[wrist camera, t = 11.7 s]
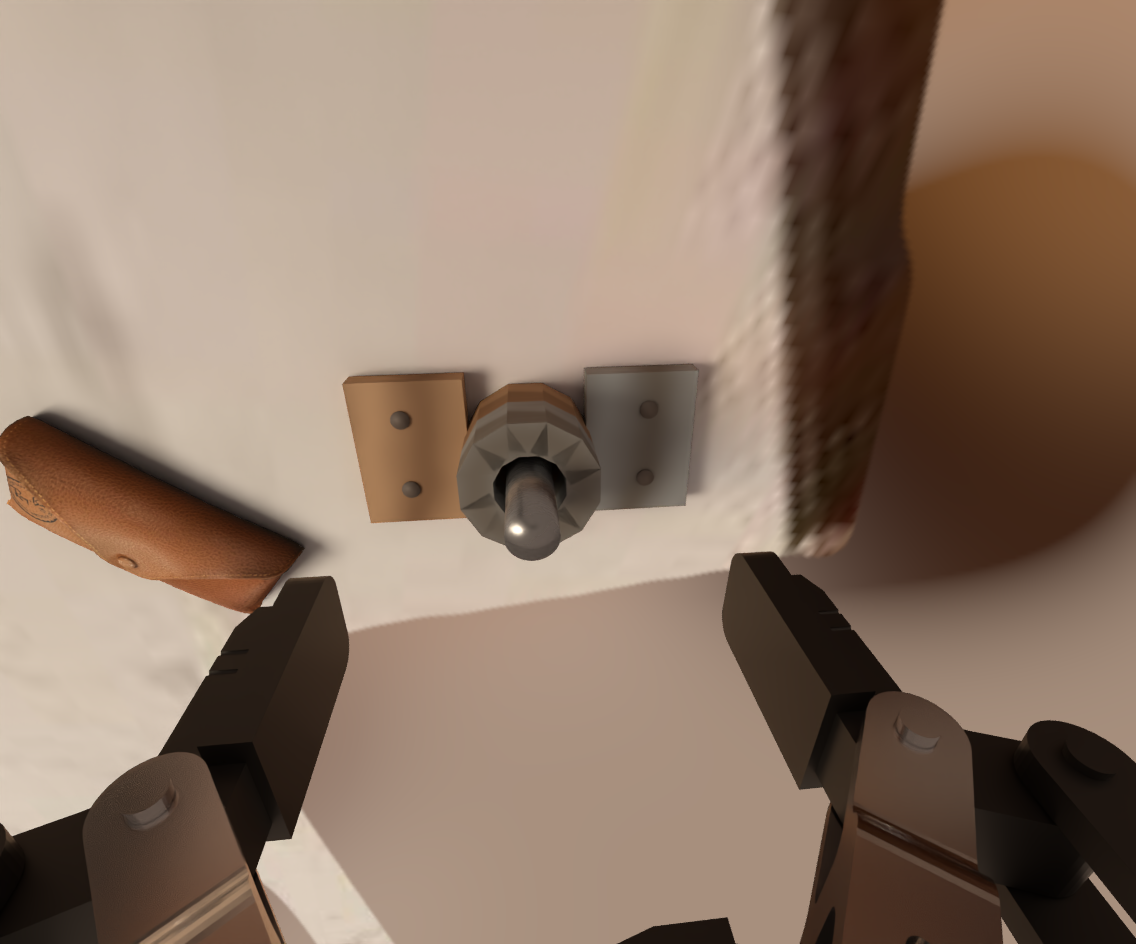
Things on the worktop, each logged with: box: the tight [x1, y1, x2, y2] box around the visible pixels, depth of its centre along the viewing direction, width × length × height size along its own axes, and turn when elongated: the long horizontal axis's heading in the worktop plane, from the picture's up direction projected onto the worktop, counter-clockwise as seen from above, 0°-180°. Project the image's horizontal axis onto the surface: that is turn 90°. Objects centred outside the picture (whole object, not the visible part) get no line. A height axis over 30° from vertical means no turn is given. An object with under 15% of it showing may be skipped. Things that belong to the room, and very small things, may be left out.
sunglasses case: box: [0, 416, 304, 614], centre depth 37 cm, size 18×7×7 cm, turn 54°
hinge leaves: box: [342, 364, 699, 546], centre depth 35 cm, size 22×10×7 cm, turn 91°
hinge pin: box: [504, 456, 561, 561], centre depth 33 cm, size 3×3×12 cm
